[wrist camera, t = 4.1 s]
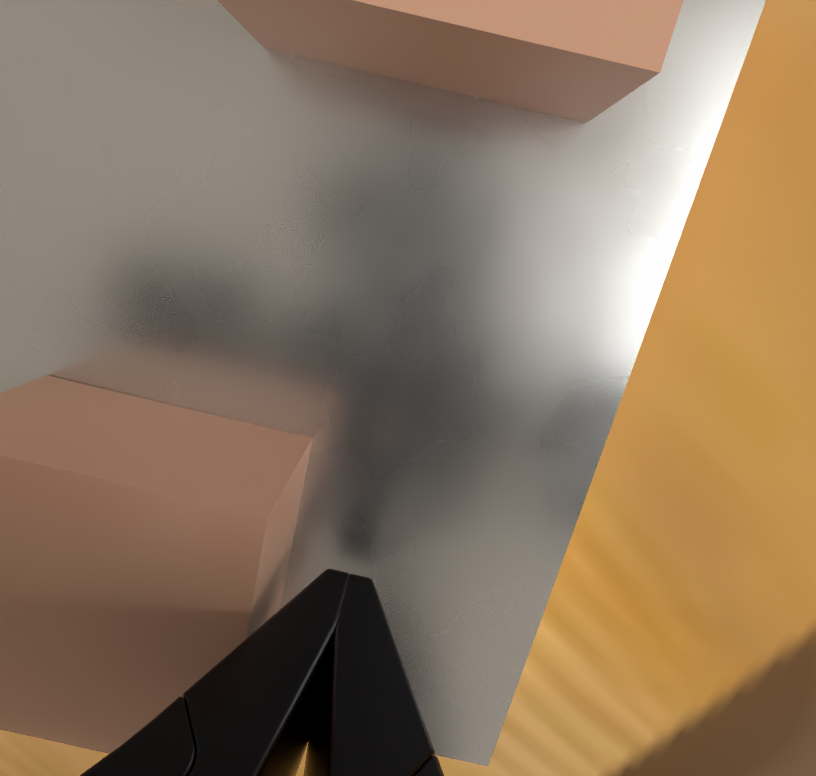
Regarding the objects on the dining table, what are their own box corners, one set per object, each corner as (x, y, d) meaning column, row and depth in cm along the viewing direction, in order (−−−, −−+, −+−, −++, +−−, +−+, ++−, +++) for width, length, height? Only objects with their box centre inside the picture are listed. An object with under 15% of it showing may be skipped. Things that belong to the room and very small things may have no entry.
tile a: (271, 647, 10) (221, 777, 8) (40, 595, 10) (-82, 710, 8) (312, 437, 9) (266, 517, 6) (46, 374, 9) (-100, 432, 6)
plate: (478, 667, 13) (488, 765, 11) (83, 581, 13) (3, 661, 11) (791, -279, 8) (948, -504, 5) (120, -443, 8) (-24, -750, 5)
